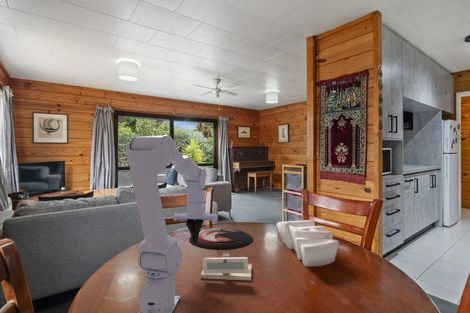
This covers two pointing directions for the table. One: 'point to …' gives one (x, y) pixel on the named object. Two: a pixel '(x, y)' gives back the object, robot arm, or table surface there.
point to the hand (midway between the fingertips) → (195, 241)
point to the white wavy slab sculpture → (309, 242)
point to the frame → (225, 265)
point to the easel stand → (229, 274)
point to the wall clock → (222, 239)
